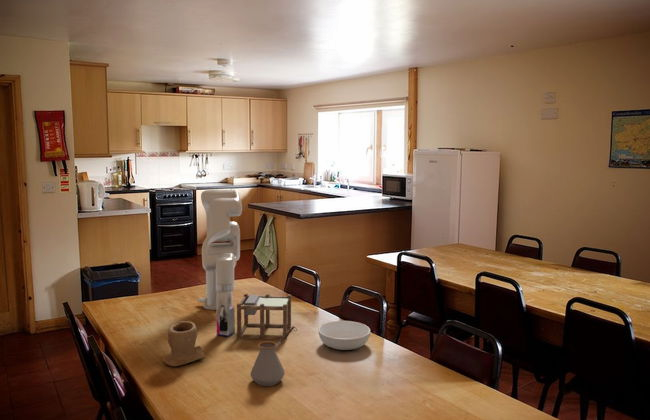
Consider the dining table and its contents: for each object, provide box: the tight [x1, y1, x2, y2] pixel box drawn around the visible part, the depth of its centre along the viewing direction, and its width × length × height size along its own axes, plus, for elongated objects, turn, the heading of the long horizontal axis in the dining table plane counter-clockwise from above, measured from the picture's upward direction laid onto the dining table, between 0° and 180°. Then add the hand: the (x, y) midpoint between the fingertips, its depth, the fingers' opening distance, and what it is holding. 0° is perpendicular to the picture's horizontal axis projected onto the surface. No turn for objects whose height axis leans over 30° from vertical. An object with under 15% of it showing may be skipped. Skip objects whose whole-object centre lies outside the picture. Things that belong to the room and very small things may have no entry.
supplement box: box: [215, 306, 236, 337], centre depth 224 cm, size 6×6×12 cm
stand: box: [236, 293, 292, 340], centre depth 227 cm, size 21×16×14 cm
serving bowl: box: [318, 320, 371, 351], centre depth 213 cm, size 21×21×7 cm
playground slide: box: [245, 294, 289, 316], centre depth 226 cm, size 17×13×5 cm
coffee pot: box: [250, 326, 298, 387], centre depth 183 cm, size 21×12×15 cm, turn 147°
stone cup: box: [162, 320, 205, 367], centre depth 195 cm, size 15×12×15 cm
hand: (225, 327), depth 224 cm, fingers closed on supplement box, 6 cm apart
